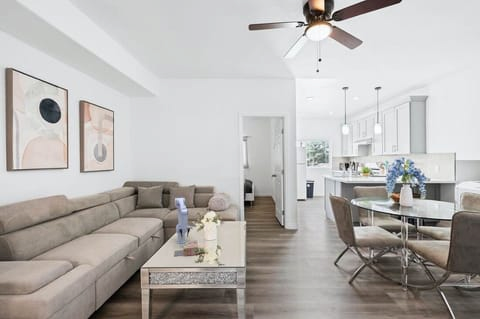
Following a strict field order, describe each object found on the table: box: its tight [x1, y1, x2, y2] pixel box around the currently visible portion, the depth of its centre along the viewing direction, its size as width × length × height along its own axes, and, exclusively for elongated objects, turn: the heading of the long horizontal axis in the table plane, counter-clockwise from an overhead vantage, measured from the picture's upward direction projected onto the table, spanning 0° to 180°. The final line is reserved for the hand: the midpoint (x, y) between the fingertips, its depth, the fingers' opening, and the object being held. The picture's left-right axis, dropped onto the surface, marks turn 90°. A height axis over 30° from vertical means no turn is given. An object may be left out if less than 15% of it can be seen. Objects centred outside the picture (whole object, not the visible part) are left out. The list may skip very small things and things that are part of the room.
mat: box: [173, 248, 200, 257], centre depth 228 cm, size 14×28×1 cm, turn 103°
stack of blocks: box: [182, 240, 199, 257], centre depth 230 cm, size 21×6×12 cm
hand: (184, 237), depth 243 cm, fingers open, 4 cm apart
